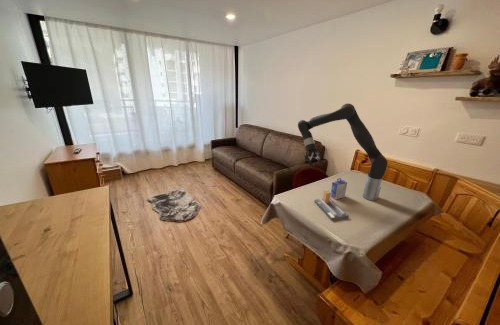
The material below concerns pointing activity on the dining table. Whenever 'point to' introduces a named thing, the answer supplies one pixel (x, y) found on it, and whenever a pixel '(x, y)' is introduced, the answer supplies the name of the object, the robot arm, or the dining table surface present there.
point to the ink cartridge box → (338, 189)
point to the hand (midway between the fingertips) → (316, 165)
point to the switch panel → (331, 209)
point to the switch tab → (326, 196)
